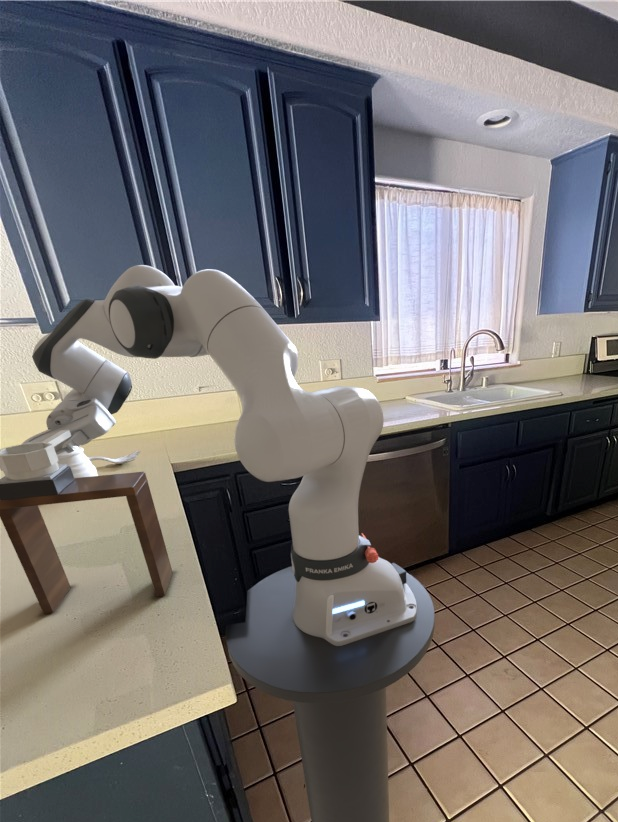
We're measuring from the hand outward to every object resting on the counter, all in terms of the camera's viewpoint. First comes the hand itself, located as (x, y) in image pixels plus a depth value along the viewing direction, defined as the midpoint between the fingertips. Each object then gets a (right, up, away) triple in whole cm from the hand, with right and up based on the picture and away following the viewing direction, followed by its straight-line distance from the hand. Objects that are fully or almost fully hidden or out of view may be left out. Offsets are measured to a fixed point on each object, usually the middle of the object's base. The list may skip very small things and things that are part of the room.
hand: (47, 458), depth 84 cm
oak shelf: (+15, -26, -3) cm, 30 cm away
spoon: (-37, +5, +65) cm, 75 cm away
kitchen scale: (+9, -7, -14) cm, 18 cm away
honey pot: (-28, -3, +48) cm, 56 cm away
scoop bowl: (+8, -2, -10) cm, 13 cm away
